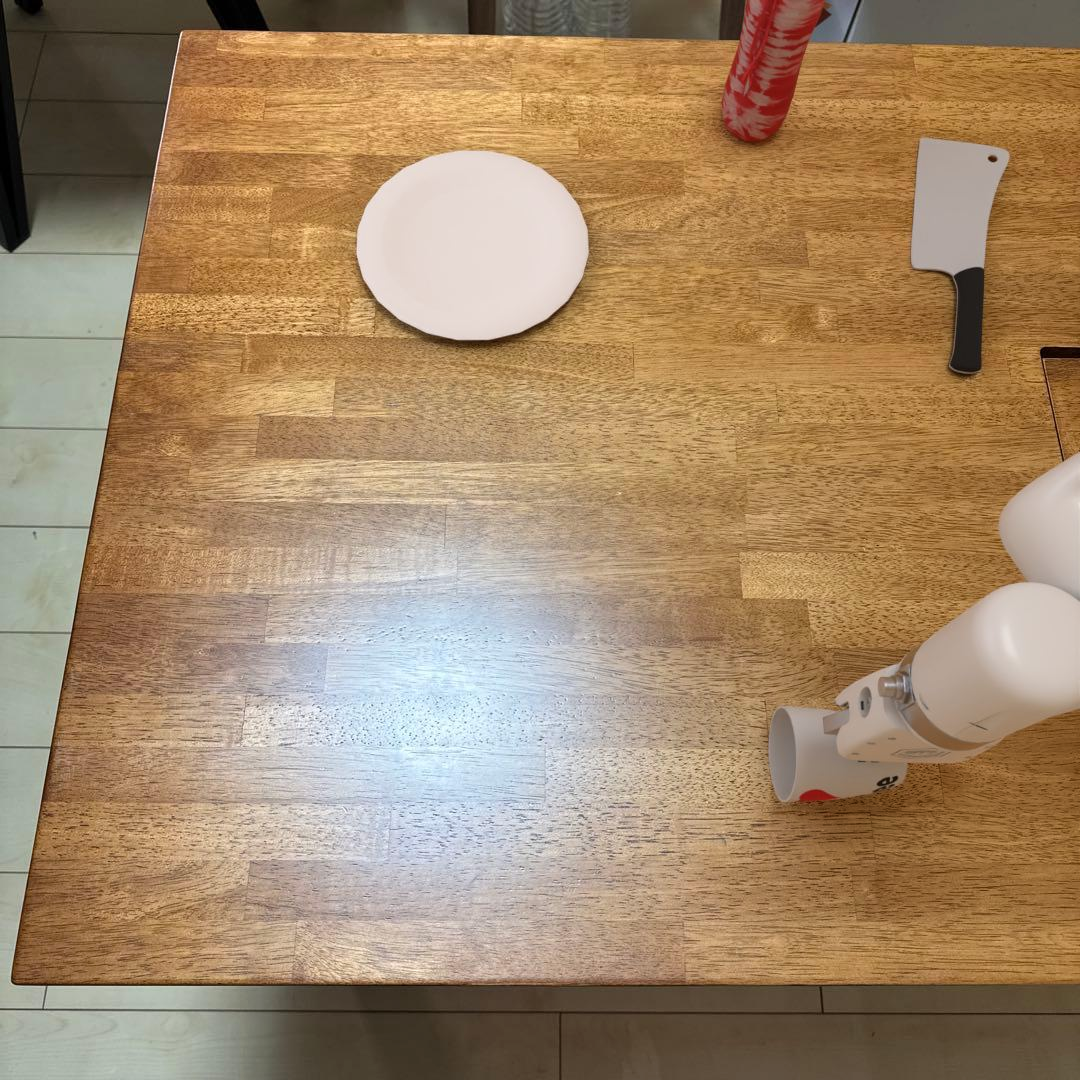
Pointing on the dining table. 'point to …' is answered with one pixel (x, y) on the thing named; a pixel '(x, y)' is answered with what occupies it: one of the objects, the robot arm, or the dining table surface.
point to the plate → (472, 245)
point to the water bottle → (768, 64)
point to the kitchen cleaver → (957, 230)
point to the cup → (820, 761)
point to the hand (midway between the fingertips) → (865, 743)
